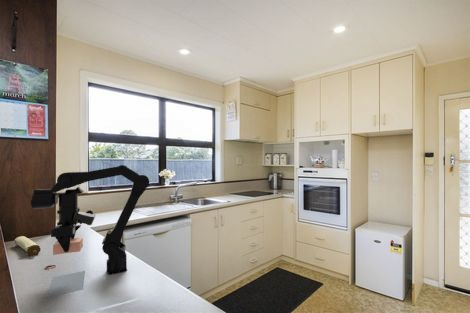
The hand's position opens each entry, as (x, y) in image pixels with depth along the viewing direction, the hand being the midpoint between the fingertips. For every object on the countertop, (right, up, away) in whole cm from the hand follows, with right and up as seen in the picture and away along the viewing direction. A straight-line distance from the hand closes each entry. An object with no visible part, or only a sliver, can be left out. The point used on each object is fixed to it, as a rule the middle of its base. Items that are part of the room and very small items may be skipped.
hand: (68, 249), depth 89 cm
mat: (+2, -11, -4) cm, 12 cm away
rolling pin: (-42, -13, +31) cm, 54 cm away
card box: (0, -1, 0) cm, 0 cm away
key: (-11, -12, +6) cm, 17 cm away
